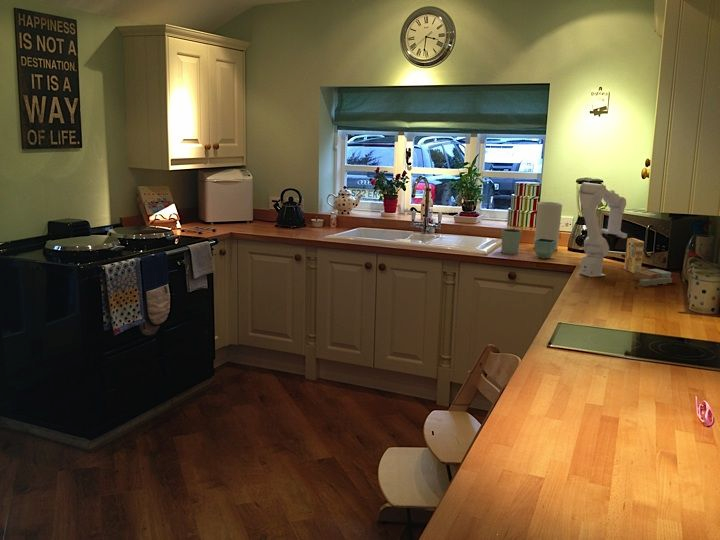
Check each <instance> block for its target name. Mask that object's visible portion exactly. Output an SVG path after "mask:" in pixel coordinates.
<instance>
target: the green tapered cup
mask: <svg viewBox="0 0 720 540" xmlns="http://www.w3.org/2000/svg"><path fill="white" fill-rule="evenodd" d="M521 238H522V230H521V229H518V228H517V229H516V228H502V229H501V253H502V254H505V253H506V254H505V255H518V254H517V253H519V249H520V241H521Z"/></svg>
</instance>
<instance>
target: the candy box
mask: <svg viewBox="0 0 720 540" xmlns="http://www.w3.org/2000/svg"><path fill="white" fill-rule="evenodd" d="M626 239H627V241H626V248H625V249H626V250H625V258H624V265H623V266H624V267H623V270H624V271H626V272H627V271H628V272H630V273H632V274H635V271H640V270H642V263H643V258H644V257H643V255H644V246H645V241H643V240H640V239H638V238H634V237H629V238H626Z"/></svg>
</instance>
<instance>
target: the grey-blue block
mask: <svg viewBox="0 0 720 540" xmlns="http://www.w3.org/2000/svg"><path fill="white" fill-rule="evenodd" d="M646 271H649V272H653V273H657V274H659V276H658V278H662V277H670V278H672V272H671V271H666V270H663V269H659V268H650V269H646Z"/></svg>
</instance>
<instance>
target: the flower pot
mask: <svg viewBox="0 0 720 540" xmlns="http://www.w3.org/2000/svg"><path fill="white" fill-rule="evenodd" d="M555 245H556V240H549V239H541V238H539V239H537V240H535V248H534V251H535V255H536V257H537V258H539V257H541V258H540V259H546V258H548V259H549V257H550V258H551V257H552V255H553V254H554V252H555V251H554V249H555Z"/></svg>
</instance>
